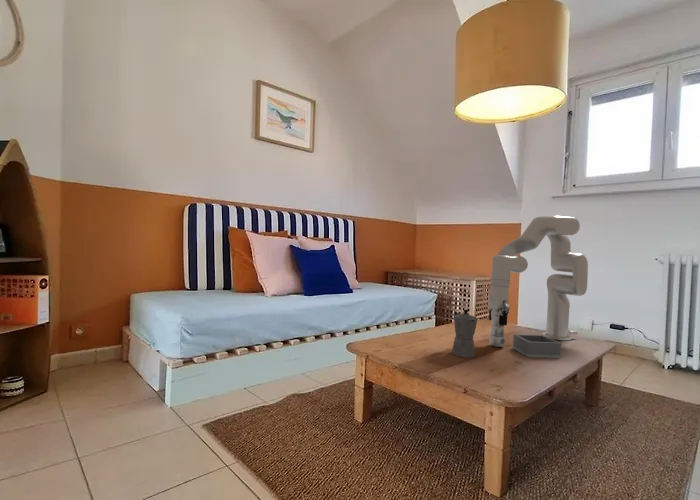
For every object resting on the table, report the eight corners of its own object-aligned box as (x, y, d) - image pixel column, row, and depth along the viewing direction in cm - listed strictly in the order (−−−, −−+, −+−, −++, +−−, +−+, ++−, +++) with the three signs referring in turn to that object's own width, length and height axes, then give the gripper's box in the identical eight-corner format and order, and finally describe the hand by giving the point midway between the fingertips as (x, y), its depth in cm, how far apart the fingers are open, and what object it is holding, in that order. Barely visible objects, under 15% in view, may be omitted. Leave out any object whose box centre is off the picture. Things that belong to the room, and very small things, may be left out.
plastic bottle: (503, 345, 166) (506, 300, 165) (505, 349, 159) (508, 302, 159) (488, 343, 168) (491, 299, 167) (489, 347, 161) (491, 301, 161)
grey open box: (542, 349, 163) (543, 335, 163) (560, 358, 150) (561, 343, 150) (512, 348, 162) (513, 334, 162) (528, 357, 150) (528, 342, 149)
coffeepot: (483, 359, 144) (485, 312, 143) (460, 359, 142) (463, 312, 141) (462, 347, 159) (465, 305, 158) (442, 348, 157) (444, 305, 156)
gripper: (483, 280, 171) (480, 318, 171) (501, 285, 154) (498, 326, 154) (499, 281, 172) (496, 318, 172) (518, 286, 154) (515, 327, 155)
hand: (497, 322), depth 163 cm, fingers open, 9 cm apart
